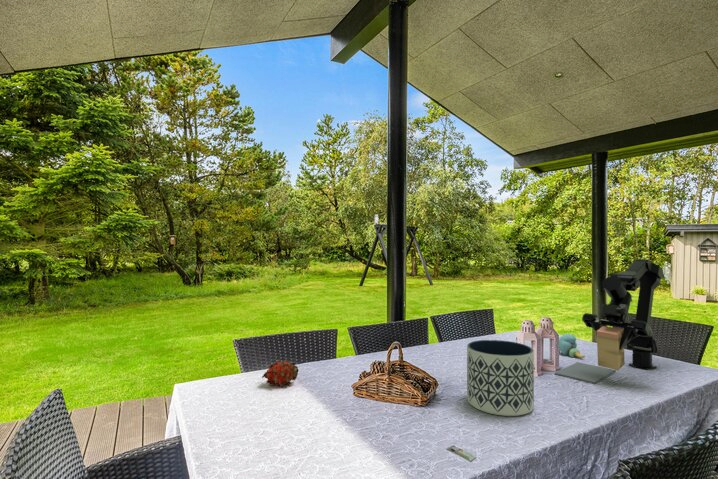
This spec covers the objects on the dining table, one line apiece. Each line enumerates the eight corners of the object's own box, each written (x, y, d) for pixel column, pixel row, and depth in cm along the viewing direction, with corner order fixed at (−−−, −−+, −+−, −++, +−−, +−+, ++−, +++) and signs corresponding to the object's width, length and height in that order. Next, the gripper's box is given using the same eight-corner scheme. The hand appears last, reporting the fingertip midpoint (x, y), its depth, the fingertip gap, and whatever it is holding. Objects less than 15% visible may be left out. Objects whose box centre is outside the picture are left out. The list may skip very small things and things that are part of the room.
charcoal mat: (577, 363, 155) (577, 362, 155) (615, 371, 145) (615, 370, 145) (554, 374, 142) (554, 372, 142) (594, 384, 132) (594, 382, 133)
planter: (501, 422, 103) (501, 359, 104) (454, 399, 120) (453, 343, 120) (548, 409, 112) (548, 350, 112) (498, 389, 128) (498, 337, 128)
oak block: (604, 359, 138) (603, 325, 137) (624, 364, 133) (623, 329, 132) (598, 365, 134) (596, 331, 133) (618, 370, 129) (617, 334, 128)
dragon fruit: (301, 388, 133) (265, 397, 129) (295, 367, 140) (260, 376, 136) (302, 372, 128) (264, 382, 124) (295, 351, 135) (259, 360, 131)
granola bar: (477, 460, 86) (477, 455, 86) (470, 463, 85) (470, 458, 85) (452, 447, 92) (452, 443, 92) (445, 450, 90) (445, 446, 90)
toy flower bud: (578, 340, 159) (555, 332, 170) (577, 362, 159) (553, 352, 171) (592, 339, 161) (568, 330, 172) (591, 360, 162) (567, 351, 173)
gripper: (582, 290, 141) (571, 330, 135) (646, 297, 127) (636, 341, 121) (592, 306, 147) (581, 345, 141) (653, 314, 132) (644, 357, 127)
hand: (609, 347), depth 132 cm, fingers closed on oak block, 6 cm apart
